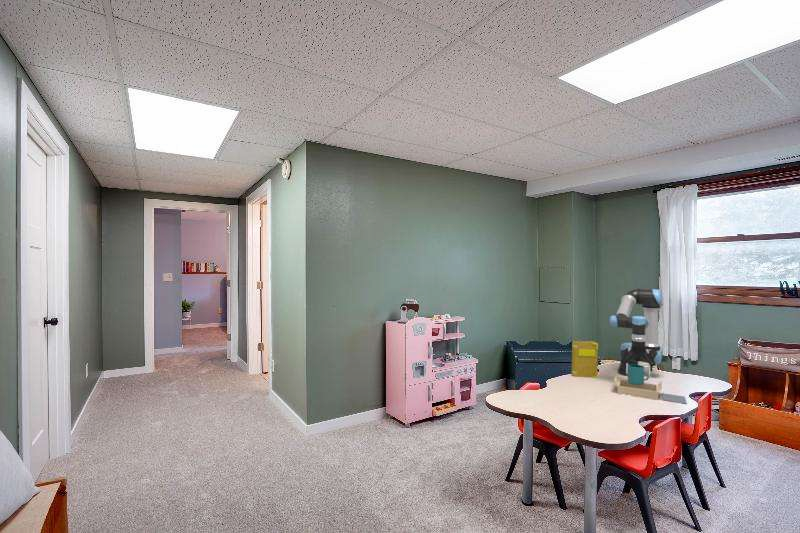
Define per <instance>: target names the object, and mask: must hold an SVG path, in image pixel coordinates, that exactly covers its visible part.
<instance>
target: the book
mask: <svg viewBox="0 0 800 533" xmlns="http://www.w3.org/2000/svg"><path fill="white" fill-rule="evenodd" d="M571 344H572V345H571V376H572V377H575V378H591V379H592V378H593V379H594V378H595V379H598V376H599V374H598V372H599V371H598V368H599V367H598V360H599V357H598V356H599V355H598V354H599V353H598V352H599V343H598V342H596V341H589V340H587V341H586V340H584V341H583V340H581V341H580V340H573V341H571Z"/></svg>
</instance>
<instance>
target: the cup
mask: <svg viewBox="0 0 800 533" xmlns="http://www.w3.org/2000/svg"><path fill="white" fill-rule="evenodd" d="M645 374H646V376H647V377H646V378H645ZM649 379H650V377H649V372H647V371H646V370H645V366H644V365H640V364H638V365H637V364H629V365H628V376H627V380H628V383H630V384H633V385H643V384H644V383H645V381H648V380H649Z"/></svg>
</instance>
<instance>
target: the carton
mask: <svg viewBox="0 0 800 533" xmlns="http://www.w3.org/2000/svg"><path fill="white" fill-rule="evenodd" d="M613 381H614V382H615V384H616V386H617V394H618V393H619V394H618V395H622V394H625V395H624V396H628V395H631V396H630V397H635V396H636V398H641V399H647V400H653V401H659V392H660V391H661V390H662V389H663V387H664V386H663V381H662V380H661V381H660V382H659V383H658V384H655V383H647V382H644V384H643V385H633V384H630V383H628V379H627V380H626V379H620V378H619V377H618V375H617V374H615V376H614V379H613Z"/></svg>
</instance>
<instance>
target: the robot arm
mask: <svg viewBox="0 0 800 533" xmlns="http://www.w3.org/2000/svg"><path fill="white" fill-rule="evenodd" d="M620 300H621V301H620V302H621V303H620V305H619V307H618V309H617V312H616V315H611V316H610V318H609V325H610V326H611V327H613V328H623V329H631V342H623V343H621V344H620V363H619V365H618V368H617V373H618V375H622V376H627V377H628V365H629V364H637V365H639V363H648V374H649V378H650V377H651V372H653V367H654V366H656V365H659V364H661V362H662V358H663V353H664V349H663V348H662V347H661V344H660V343H659V337H658V336H659V311H660V309H662V307H663V306H664V298H663V293H662V291H661V290H660V289H655V288H633V289H629V290H628V291H626V292H625V293H624V294H623V295H622V296H621V299H620ZM635 305H641V308H642V310H643V316H641V315H633V316H630V314H631V312H632V309H633V307H634V306H635Z"/></svg>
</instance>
